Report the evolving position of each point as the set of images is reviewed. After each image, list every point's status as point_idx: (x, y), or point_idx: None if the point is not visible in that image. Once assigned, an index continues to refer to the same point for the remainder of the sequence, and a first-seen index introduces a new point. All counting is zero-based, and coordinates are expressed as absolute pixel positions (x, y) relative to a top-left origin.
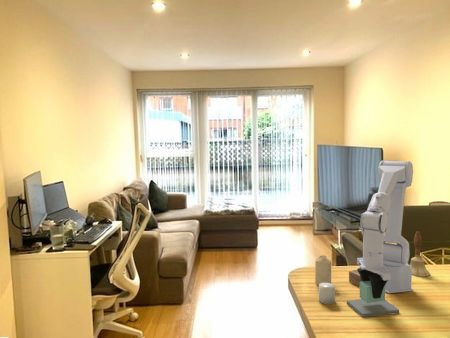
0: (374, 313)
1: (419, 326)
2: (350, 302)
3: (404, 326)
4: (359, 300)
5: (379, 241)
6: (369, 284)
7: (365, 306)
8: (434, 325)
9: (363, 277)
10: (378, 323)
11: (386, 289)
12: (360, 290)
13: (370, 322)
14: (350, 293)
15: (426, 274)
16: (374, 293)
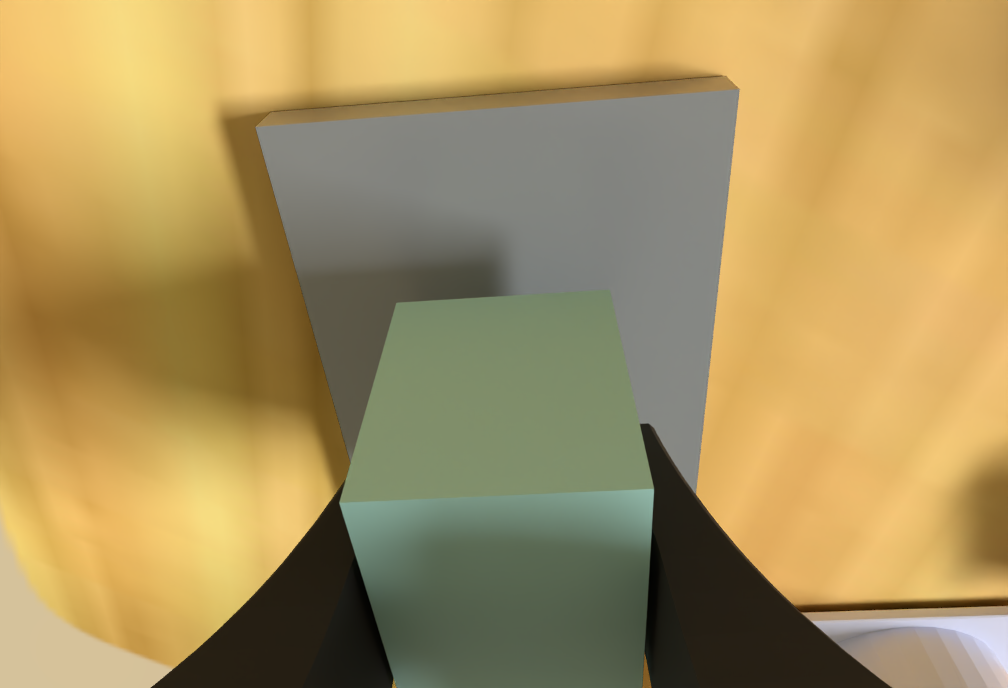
0: (306, 295)
1: (124, 536)
2: (658, 122)
3: (99, 438)
4: (682, 282)
5: None
6: (463, 580)
7: (485, 275)
8: (162, 621)
9: (676, 636)
10: (119, 235)
11: (852, 635)
12: (598, 367)
13: (130, 151)
14: (1003, 286)
15: None
16: (339, 498)
